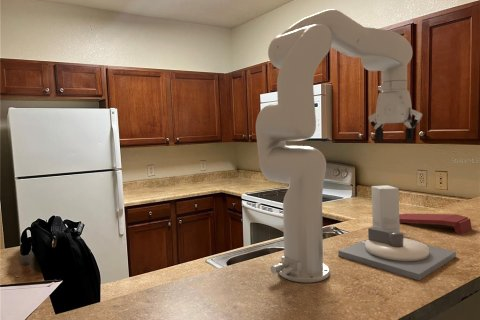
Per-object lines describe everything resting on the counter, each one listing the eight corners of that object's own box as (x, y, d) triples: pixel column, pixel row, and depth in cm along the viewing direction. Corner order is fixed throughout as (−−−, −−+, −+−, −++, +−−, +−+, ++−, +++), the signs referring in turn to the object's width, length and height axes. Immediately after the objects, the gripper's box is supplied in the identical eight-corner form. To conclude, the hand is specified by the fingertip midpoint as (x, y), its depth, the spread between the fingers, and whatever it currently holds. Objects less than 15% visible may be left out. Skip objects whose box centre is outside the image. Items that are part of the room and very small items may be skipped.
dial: (439, 250, 93) (439, 233, 93) (412, 266, 83) (412, 247, 83) (383, 237, 106) (383, 222, 105) (353, 250, 96) (353, 233, 95)
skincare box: (400, 234, 114) (400, 188, 112) (380, 235, 114) (380, 189, 113) (389, 227, 122) (389, 184, 121) (370, 228, 122) (370, 185, 121)
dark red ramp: (387, 231, 131) (459, 235, 111) (386, 218, 132) (457, 220, 111) (404, 225, 138) (474, 228, 118) (402, 213, 139) (472, 214, 119)
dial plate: (419, 280, 79) (419, 273, 79) (338, 255, 96) (338, 249, 96) (455, 256, 93) (455, 250, 93) (379, 238, 110) (379, 233, 110)
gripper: (363, 90, 114) (363, 141, 116) (416, 83, 101) (415, 141, 102) (375, 91, 119) (375, 140, 120) (427, 85, 105) (426, 140, 107)
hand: (393, 141), depth 111 cm, fingers open, 9 cm apart
